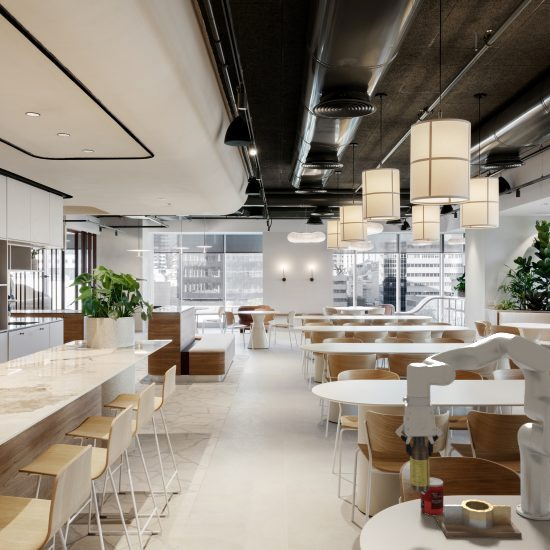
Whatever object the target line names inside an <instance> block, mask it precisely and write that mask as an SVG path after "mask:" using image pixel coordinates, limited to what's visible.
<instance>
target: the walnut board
mask: <svg viewBox="0 0 550 550" xmlns="http://www.w3.org/2000/svg"><path fill="white" fill-rule="evenodd" d="M436 518H437V519H436ZM435 519H436V521H437V520H438V521H437V523H438V522H439V523H438V525H439V524H440V525H439V526H440V528H441V530H442V529H443V530H442V532H443V531H444V532H443V533H445V534H444V535H445V537H446V538H480V537H498V538H499V539H500V538H501V539H502V538H503V539H504V538H506V539H521V538H523V535H522V532H521V531H520V529H519V528H518V527H517V526H516V525H515V524H514V522H512V520H511V524H494V525H493V527H492V528H491V529H488V530H476V529H471V528H468V527H466V526H464V525H463V524H444V513H442V514H436V516H435Z"/></svg>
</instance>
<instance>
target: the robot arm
mask: <svg viewBox="0 0 550 550" xmlns="http://www.w3.org/2000/svg"><path fill="white" fill-rule="evenodd" d="M503 359H508V360H511V361H512V362H513V364H514V365H515V366H516V367H518V369H520V371H521V373H522V375H523V378H524V392H523V393H524V395H523V412H524V414H525V416H526V417H527V418H529V419H531V420H532V421H533V420H534V421H535V422H538V423H535V422H527V423H524V424H522V425H521V426H520V427H519V429H518V431H517V443H518V446H519V447H518V448H519V455H520V503H519V504H517V505H516V507H515V510H516V513H517V514H518V515H520V516H521V517H525V518H527V519H530V520H536V521H549V520H550V348H547V347H545V346H543V345H541V344H539V343H537V342H534V341H532V340H530V339H528V338H526V337H523V336H521V335H518V334H513V333H507V332H498V333H495V334H492V335H490V336H488V337H485V338H484V339H480V340H479V341H476V342H474V343H471V344H469V345H466V346H462V347H461V346H460V347H458V348H454V349H449V350H445V351H442V352H439V353H436V354H434V355H432V356H429V357H427V358H426V359H424V360H423V361H422V362H412V363H409V364H407V366H406V396H405V397H402V402H404V403H405V405H404V410H403V417H402V418H403V419H402V424H401V425H400V426H399V427H398V428H397V429H396V430H395V434H396V435H397V436H398V437H399V438H400V439H401V440H402V441H403V442H404V443H405V453H407V456H408V457H410V456H411V447H412V444H411V440H412V439H413V437H427V440H428V441H427V443H426V447H427V448H428V451H429V457H432V454H433V453H434V444H435V442H436V441H437V440H438V439H439V437H440V436H441V437H442V435H443V434H444V432H443V431H442V429H440V428H439V427H438V425H436V424H437V423H436V415H435V409H434V405H432V404H431V386H440V387H446V386H449V385H451V384H453V383H454V381H455V380H456V375H457V374H456V371H462V370H463V371H474V370H480V369H482V368H485V367H487V366H488V365H492V364H493V363H496V362H498V361H500V360H503ZM539 423H541V424H539ZM542 424H543V425H542ZM402 432H403V433H404V434H405V435H404V434H403V433H402Z"/></svg>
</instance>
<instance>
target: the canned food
mask: <svg viewBox="0 0 550 550" xmlns="http://www.w3.org/2000/svg"><path fill="white" fill-rule="evenodd" d="M420 510H421V512H422V513H424V514H425V513H426V514H425V515H427V514H429V515H428V516H432V515H436V514H444V481H443V480H442V479H440V478H436V477H431V476H430V484H429V490H428V491H426V492H420Z"/></svg>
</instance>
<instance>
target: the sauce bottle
mask: <svg viewBox="0 0 550 550" xmlns="http://www.w3.org/2000/svg"><path fill="white" fill-rule="evenodd" d="M412 442H413V443H412V444H411V456H409V474H410V475H409V476H410V477H409V478H410V481H409V482H410V488H411V490H413V491H414V492H418V493H421V492H426V491H428V490H429V484H430V477H431V476H430V456H429V451H428V448H427V444H426V439H425V437H412Z"/></svg>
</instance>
